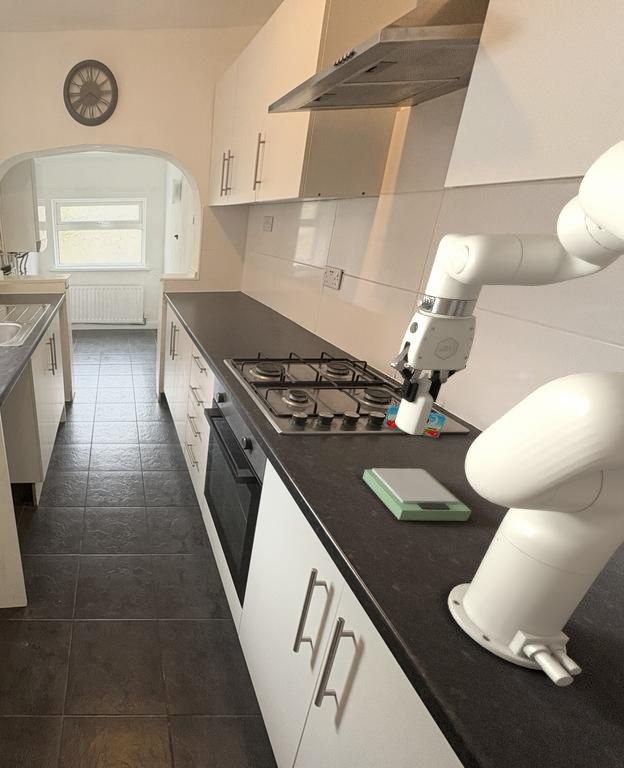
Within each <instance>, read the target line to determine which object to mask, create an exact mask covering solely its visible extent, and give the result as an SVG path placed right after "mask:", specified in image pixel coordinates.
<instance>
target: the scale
mask: <svg viewBox="0 0 624 768" xmlns="http://www.w3.org/2000/svg"><path fill="white" fill-rule="evenodd" d="M362 480H364V482H365V483H366V484H367V485H368V487H369V488H370V489H371V490H372V491H373V492H374V493H375V494H376V496H377V497H378V498H379V499H380V500H381V501H382V502H383V504H384V505H385V506H386V507H387V509H389V511H390V512H391V513H392V514H393V515H394V516H395V517H396V518H397V520H399V521H443V522H445V521H448V522H449V521H452V522H453V521H454V522H455V521H457V522H459V521H460V522H461V521H463V522H464V521H465V522H467V521H468V520H469V517H470V515H471V514H472V510H471V509H470V508H469V507H468V506H467V505H466V504H464V503H463V502H462V501H461V500H460V499H459V498H458V497H456V496H455V495H454V494H453V493H451V491H450V490H448V489H447V488H446V487H445V486H444V485H443V484H442V483H441V482H440V481H438V480H437V479H436V478H435V477H434V476H433V475H432V474H430V473H429V472H428V471H427V470H426V469H423V468H387V467H386V468H375V467H374V468H373V467H372V469H368V468H367V469H364V472H363V476H362Z"/></svg>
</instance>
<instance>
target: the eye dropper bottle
mask: <svg viewBox="0 0 624 768" xmlns="http://www.w3.org/2000/svg"><path fill="white" fill-rule="evenodd" d="M428 378H429V373H428V372H424V373H423V374H422V376H420V377H419V379H418V381H417V382H416V383H418V384H419V388H418V391H417V394H416V397H415V400H414V402H413V403H409V402H408V401H406V400H405V399H403V398H402V397H401V401H400V403H399V410H398V413H397V417H396V420H395V423H396V425H397V426H398V427H399V428H400V429H401V430H403V431H402V432H404V431H405V433H407V434H408V435H409V434H410V435H411V436H423V435H422V434H423V432H424V429H425V426H426V423H427V420H428V417H429V414H430V412H432V408H433V405H434V403H433V398H432V396H431V395H430V394H429V393H428V391H429V389H430V386H431V383H432V382H431V381H430V380H429V379H428Z"/></svg>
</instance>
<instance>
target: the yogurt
mask: <svg viewBox="0 0 624 768" xmlns="http://www.w3.org/2000/svg"><path fill="white" fill-rule="evenodd" d="M399 407H400V405H393V404H390V405H389V406H388V409H387V412H386V416H385V419H384V422H383V426H384V428H385V429H391V430H395V431H400V432H405V431H403V430H401V429H400V428H399V427H398V426H397V425H396V423H395V420H396V417H397V413H398V410H399ZM445 421H446V416H445V415H444V414H443V413H438V412H432V411H430V414H429V417H428V420H427V423H426V426H425V429H424V432H423V434H422V435H421V436H423V437H424V436H425V437H430V438H435V439H438V438H439V437H440V434H441V432H442V429H443V427H444V424H445ZM405 433H406V432H405Z"/></svg>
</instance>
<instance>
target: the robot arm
mask: <svg viewBox="0 0 624 768" xmlns="http://www.w3.org/2000/svg"><path fill="white" fill-rule="evenodd" d="M622 255H624V138H623V139H622V140H620V141H618V142H617V143H615V144H614V145H612V146H611V147H609V148H608V149H607V150H606V151H604V152H603V153H601V155H600V156H599V157H598V158H597V159H596V160H595V161H594V162H593V163H592V165H591V166H590V167H589V168H588V170H587V171H586V172H585V175H584V176H583V179H582V180H581V183H580V185H579V190H578V194H577V195H575V196H574V197H573V198H571V199H570V200H569V201H568V202H567V203H566V204H565V205H564V207H563V208H562V209H561V211H560V213H559V215H558V218H557V222H556V232H555V233H550V234H546V233H545V234H543V233H541V234H540V233H483V232H482V233H480V232H451V233H448V234H446V235H444V236H443V237H442V238H441V240H440V242H439V244H438V248H437V251H436V254H435V258H434V261H433V265H432V268H431V271H430V274H429V278H428V282H427V283H426V284H427V285H426V288H425V292H424V294H423V298H422V299H418V300H417V301H416V302H415V303H416V307H417V308H419V311H416V312H415V314H414V316H413V317H412V319H411V321H410V322H409V324H408V327H407V329H406V332H405V334H404V337H403V339H402V342H401V345H400V349H399V353H398V355H397V356H396V357H395V358H394V360H392V361H391V363H390V367H391V368H393V369H394V370H395V371H397V372H399V374H400V375H401V377H402V379H404V380H403V383H402V386H401V389H400V395H399V397H400V398H401V399H402V398H403V399H405V400H406V401H408V402H409V403H413V402H414V400H415V397H416V394H417V391H418V388H419V384H418V383H416V382H417V381H418V379H419V378H421V374H422V372H423V371H430V377H428V379H429V380H430V381H431V382H432V383H431V386H430V389H429V391H428V393H429V394H430V395H431V396H432V398H433V404H435V403H436V402H437V399H438V396H439V394H440V390H441V387H442V385H443V384H446V383H447V382H448V380H449V378H452V376H454V375H456V373H459V372H460V371H463V370H465V369H466V368H467V363H468V361H469V358H470V355H471V351H472V348H473V344H474V340H475V334H476V327H477V316H476V315H473V314H474V312H475V308H476V306H477V302H478V300H479V297H480V295H481V294H480V293H481V291H482V289H483V286H517V287H519V286H520V287H521V286H522V287H537V286H538V287H540V286H548V285H549V286H550V285H553V284H558V283H563V282H566V281H571V280H575V279H579V278H584V277H588V276H592V275H594V274H597V273H599V272H602V271H603V270H605V269H607V268H608V267H610V266H611V265H612V264H614V263H615V262H616V261H617V260H618V259H619V258H620V257H621V256H622ZM406 363H407V364H406ZM405 364H406V365H405ZM464 471H465V476H466V479H467V481H468V484H469V485H470V486H471V488H472V489H473V490H474V492H475V493H477V494H478V496H480V497H481V498H483V499H485V500H486V501H488V502H490V503H493V504H495V505H497V506H500V507H504V508H507V509H508V508H509V509H508V510H507V512H506V514H505V516H504V517H503V519H502V520H501V523H500V525H499V527H498V529H497V531H496V532H495V534H494V537H493V538H492V540H491V542H490V544H489V546H488V548H487V550H486V552H485V555H484V556H483V558H482V560H481V563H480V564H479V566H478V569H477V571H476V572H475V575H474V577H473V578H472V581H471V582H470V583H461V584H458V585H456V586H455V587H453V588H452V589H451V591H450V593H449V595H448V597H447V605H448V610H449V611H450V614H451V616H452V617H453V619H454V620H455V622H456V623H457V624H458V625H459V627H460V628H461V629H462V630H463V631H464V632H465V634H467V635H468V636H469V637H470V638H471V639H473V640H474V641H475V642H476V643H477V644H479V645H480V646H481V647H483V648H484V649H486V650H487V651H489V652H490V653H492V654H494V655H495V656H497V657H499V658H502V659H503V660H505V661H507V662H510V663H513V664H515V665H517V666H520V667H524V668H528V669H533V670H540V671H543V672H544V673H545V674H546V675H547V676H548V677H549V678H550V680H552V682H553V683H554V684H555V685H556V686H558V687H566V686H569V685H571V684H572V683H573V682H574V677H572V676H576V675H579V674H580V673H582V668H581V667H580V666H579V665H578V664H577V663H576V662H575V661H574V659H572V658H571V657H569V656H568V654H567V646H566V645H567V643H568V642H569V641H570V637H568V636H567V634H565V633H564V632H563V628H564V627H565V625H566V624H567V622H568V621H569V619H571V617H572V615H573V613H574V612H575V610H576V609H577V608H578V606H579V604H580V603H581V602H582V601H583V599H584V597H585V595H586V594H587V593H588V591H589V590H590V588H591V586H592V585H593V584H594V582H595V581H596V579H597V577H598V576H599V575H600V573H601V572H602V571H604V568H605V567H606V565H607V564H608V562H609V561H610V559H611V558H612V557H613V555H614V554H615V553H616V551H617V550H618V549H619V547H620V546H621V545H622V544H623V543H624V371H585V372H578V373H573V374H569V375H564V376H562V377H559V378H556V379H554V380H552V381H548V382H546V383H545V384H543V385H542V386H540V387H538V388H537V389H536V390H534V391H533V392H532V393H530V394H529V395H527V396H526V397H525V398H523V399H522V400H521V401H520V402H518V403H517V404H516V405H515V406H513V407H512V408H510V409H509V410H507V412H505V414H503V415H501V416H500V417H499V418H498V419H497V420H496V421H494V422H493V423H492V424H490V425H489V426H488V427H486V429H484V430H483V431H482V432H481V433H480V434H479V435H478V436H477V437H476V438H475V439H474V440H473V442H472V443H471V445H470V446H469V448H468V450H467V453H466V455H465V460H464Z"/></svg>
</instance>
